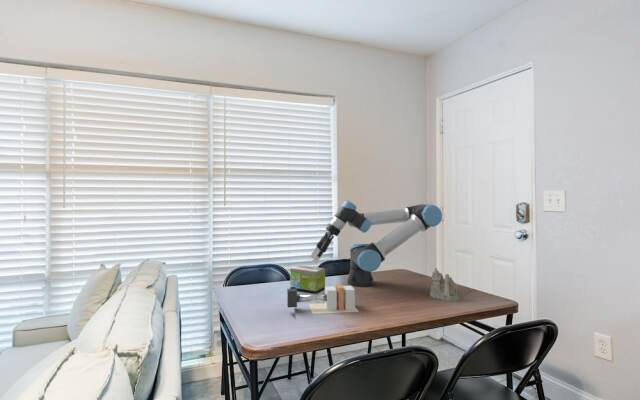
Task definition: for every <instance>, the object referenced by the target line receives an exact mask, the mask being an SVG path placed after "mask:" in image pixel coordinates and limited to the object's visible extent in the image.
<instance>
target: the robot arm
mask: <svg viewBox="0 0 640 400" xmlns="http://www.w3.org/2000/svg"><path fill="white" fill-rule="evenodd" d="M442 219H443V214H442V210H441V209H440V207H438V206H437V205H434V204H431V203H430V204H423V203H422V204H421V203H420V204H416V205H411V206H410V205H409V206H405V207H403V208H401V209H391V210H390V209H389V210H381V211H372V212H362V213H360V212H359V211H357V205H355V204H354V203H353V202H352V201H350V200H347V199H346V200H344V201H343V202H342V203H341V205H340V207H339V208H338V209H337V211H336V212H335V214H334V215H333V216H332V217H331V220H330V221H329V222H330V223H328V224H327V226H326V228H325V229H326V232H325V234H324V235H323V236H322V237H321V238H320V240H319V241H318V242H317V243H316V246H315V248H314V249H313V250H312V252H311V253H310V255H309V258H311V259H312V262H314V263H315V264H317V263H319V261H320V259H321V258H322V256H323V255H324V253H326V252H327V250H328V248H329V246H330V244H331V243H332V241H333V239H334V238H335V237H338V236H339V234H340V233H341V230H342V231H343V228H344V227H345V225H346V224H347V225H349V226H350V227H351V228H355V229H357V230H358V231H360V232H362V233H364V234H365V233H367V232H368V231H369V230H370V228H371V227H372V226H375V225H376V226H377V225H386V224H397V223H402V224H400V225H399V226H398V227H396V228H394V229H393V230H392V231H391V232H390V233H388V234H386V235H384V237H382V238H381V239H379V240H378V241H377V242H371V243H353V244H351V245H350V248H349V252H350V255H349V256H350V258H349V259H350V263H349V264H350V265H349V266H350V270H349V274H348V276H347V282H346V283H347V284H348V286H352V287H353V286H354V287H369V286H373V285H374V282H375V281H374V277H373V274H372V272H374V271H376V270H377V269H379V268H380V266H381V263H383V262H384V261H385V260H386V256H388V255H389V254H390V253H392V252H393V251H394V250H396V249H397V248H398V247H400V246H401V245H403V244H404V243H406V242H407V241H408V240H410V239H411V238H413V237H414V236H415V235H417V234H418V233H420V232H426V231H427V230H428V229H430V228H431V227H436V226H437V227H438V225H440V223H442Z"/></svg>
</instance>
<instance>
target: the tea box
mask: <svg viewBox="0 0 640 400" xmlns="http://www.w3.org/2000/svg"><path fill="white" fill-rule="evenodd" d="M289 274H290V275H289V277H290V280H289V281H290V282H289V283H290V285H289V286H290V287H289V289H297V295H317V294H325V287H326V268H324V267H316V266H307V265H306V266H305V265H298V266H296V267H292V268H290V273H289Z"/></svg>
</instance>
